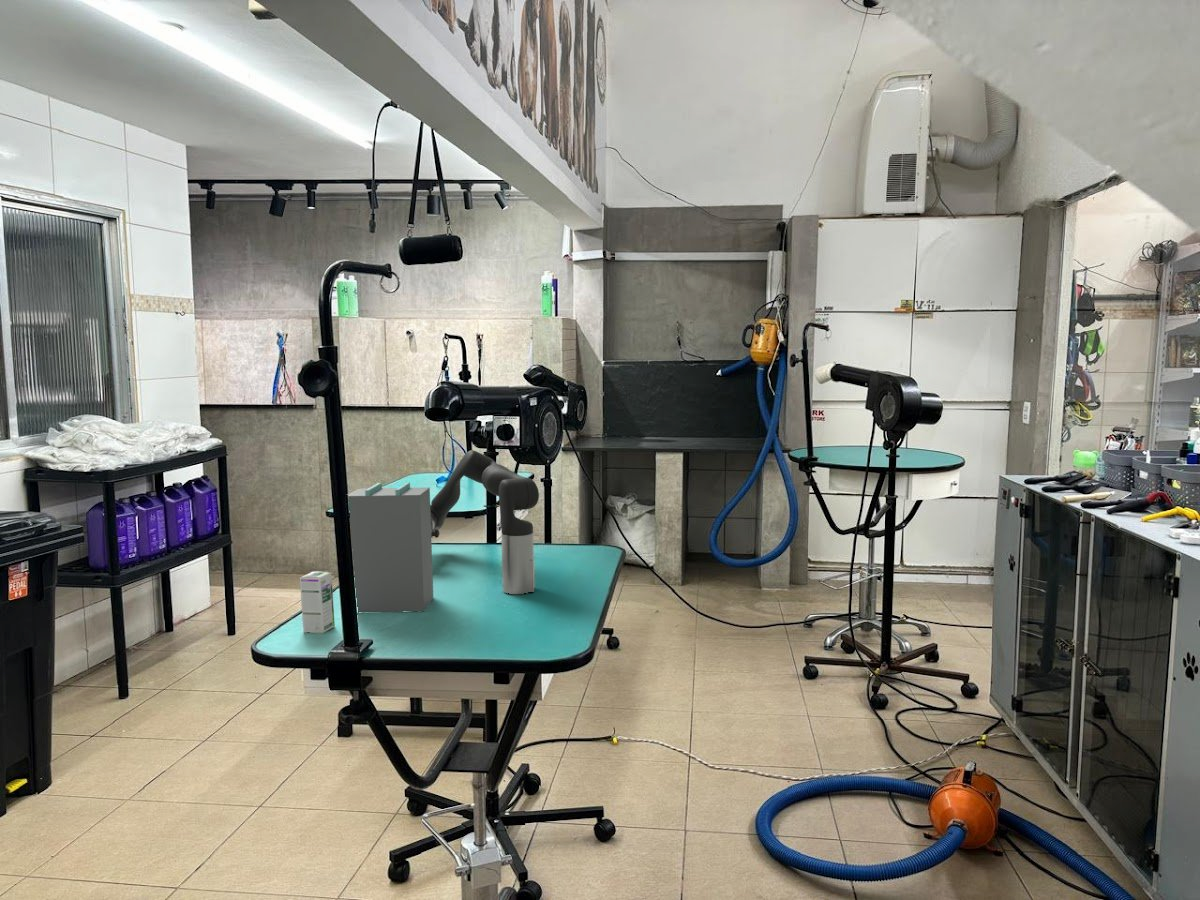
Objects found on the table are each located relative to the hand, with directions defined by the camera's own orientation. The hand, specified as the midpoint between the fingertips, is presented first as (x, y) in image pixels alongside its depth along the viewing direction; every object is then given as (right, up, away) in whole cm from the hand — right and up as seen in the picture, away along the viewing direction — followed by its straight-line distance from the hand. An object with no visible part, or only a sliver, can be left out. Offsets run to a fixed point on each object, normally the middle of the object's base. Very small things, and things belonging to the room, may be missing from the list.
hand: (413, 537), depth 269 cm
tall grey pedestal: (+2, -16, -33) cm, 36 cm away
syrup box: (-12, -18, -54) cm, 58 cm away
